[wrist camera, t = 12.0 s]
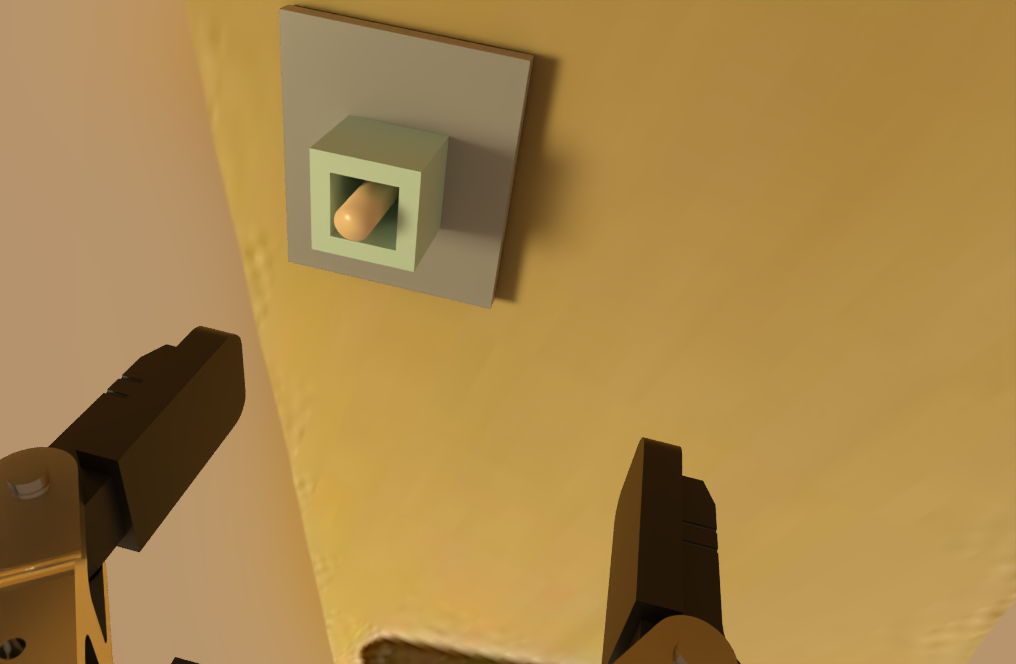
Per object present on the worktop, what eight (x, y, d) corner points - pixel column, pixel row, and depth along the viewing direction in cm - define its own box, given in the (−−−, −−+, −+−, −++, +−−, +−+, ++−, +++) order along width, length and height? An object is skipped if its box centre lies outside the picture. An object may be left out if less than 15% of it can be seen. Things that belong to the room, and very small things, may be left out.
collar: (348, 115, 42) (309, 148, 37) (448, 136, 41) (421, 171, 37) (347, 208, 45) (311, 248, 41) (440, 228, 45) (413, 272, 40)
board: (288, 4, 40) (211, 37, 33) (534, 55, 39) (504, 99, 32) (296, 253, 49) (236, 317, 43) (494, 299, 48) (464, 372, 42)
